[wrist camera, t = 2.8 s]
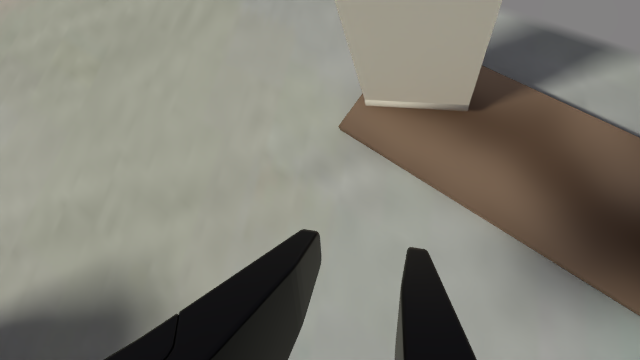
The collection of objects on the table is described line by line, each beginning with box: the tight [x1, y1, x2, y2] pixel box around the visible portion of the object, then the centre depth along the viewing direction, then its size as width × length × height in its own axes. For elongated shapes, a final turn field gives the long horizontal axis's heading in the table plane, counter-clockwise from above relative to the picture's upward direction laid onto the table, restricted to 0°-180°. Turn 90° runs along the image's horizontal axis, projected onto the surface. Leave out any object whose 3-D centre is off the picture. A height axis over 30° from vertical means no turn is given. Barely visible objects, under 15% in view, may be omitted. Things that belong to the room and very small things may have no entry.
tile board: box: [339, 66, 640, 316], centre depth 20 cm, size 8×23×1 cm, turn 53°
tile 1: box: [335, 0, 502, 111], centre depth 17 cm, size 2×6×11 cm, turn 80°
